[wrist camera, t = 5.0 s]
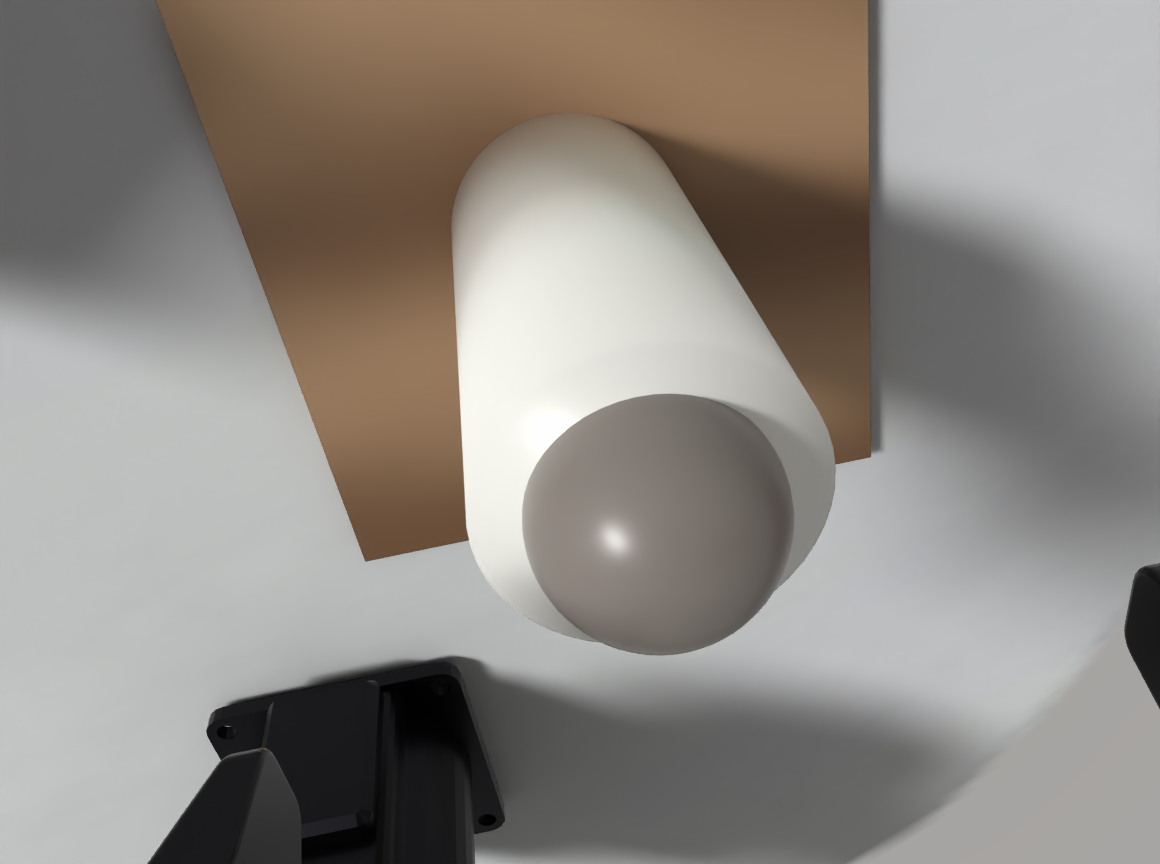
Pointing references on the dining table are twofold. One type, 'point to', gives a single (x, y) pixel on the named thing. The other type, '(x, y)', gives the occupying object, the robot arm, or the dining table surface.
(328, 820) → the robot arm
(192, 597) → the dining table surface
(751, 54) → the walnut mat
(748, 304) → the bottle
